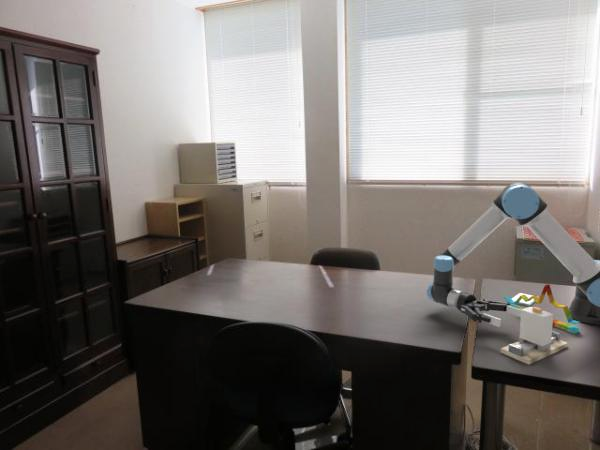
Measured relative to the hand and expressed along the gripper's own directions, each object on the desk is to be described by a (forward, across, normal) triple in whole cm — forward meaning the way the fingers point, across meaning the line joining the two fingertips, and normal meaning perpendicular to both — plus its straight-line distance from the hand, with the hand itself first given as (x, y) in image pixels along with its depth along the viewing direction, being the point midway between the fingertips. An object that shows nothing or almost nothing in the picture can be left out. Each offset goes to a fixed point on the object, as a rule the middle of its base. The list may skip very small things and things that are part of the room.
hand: (512, 318), depth 158 cm
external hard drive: (-21, -41, -9) cm, 47 cm away
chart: (-6, -26, -9) cm, 28 cm away
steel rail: (+9, 0, -7) cm, 11 cm away
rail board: (+9, 0, -8) cm, 12 cm away
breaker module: (+9, 0, -7) cm, 11 cm away
